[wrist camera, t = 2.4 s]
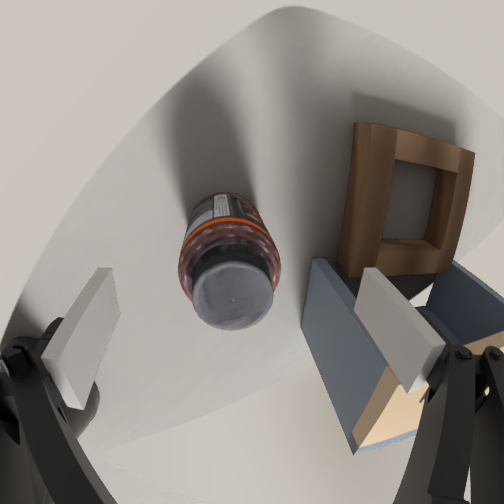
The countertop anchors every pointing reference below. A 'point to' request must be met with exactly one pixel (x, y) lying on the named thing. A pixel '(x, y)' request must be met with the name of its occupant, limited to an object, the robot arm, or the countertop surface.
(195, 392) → the countertop surface
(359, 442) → the blue open cabinet
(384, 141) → the socket
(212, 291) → the supplement bottle
